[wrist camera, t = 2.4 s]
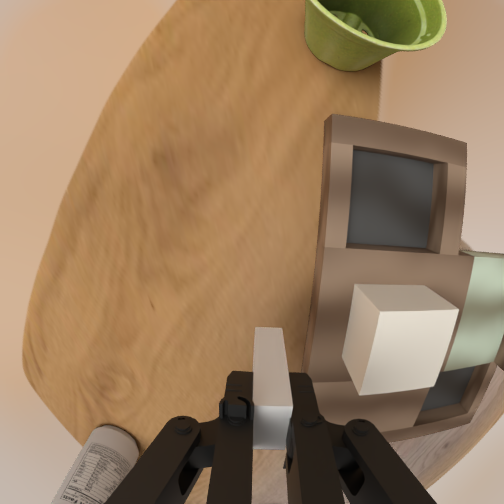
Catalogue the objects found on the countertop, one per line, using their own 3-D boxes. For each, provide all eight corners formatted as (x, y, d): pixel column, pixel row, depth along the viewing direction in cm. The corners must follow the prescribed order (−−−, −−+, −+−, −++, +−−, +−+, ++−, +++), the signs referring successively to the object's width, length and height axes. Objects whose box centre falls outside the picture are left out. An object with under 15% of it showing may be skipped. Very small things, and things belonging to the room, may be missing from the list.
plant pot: (363, -8, 18) (397, -62, 9) (412, 79, 19) (471, 45, 11) (265, 9, 19) (269, -57, 10) (313, 103, 20) (344, 61, 12)
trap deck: (460, 411, 27) (476, 432, 22) (290, 434, 27) (293, 466, 22) (520, 168, 20) (549, 169, 16) (324, 121, 21) (339, 106, 16)
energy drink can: (87, 432, 28) (37, 518, 13) (108, 414, 27) (52, 514, 12) (126, 460, 29) (89, 549, 14) (150, 446, 28) (113, 549, 13)
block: (407, 353, 22) (433, 386, 17) (341, 356, 22) (359, 395, 17) (424, 285, 21) (459, 309, 16) (354, 283, 21) (380, 311, 16)
